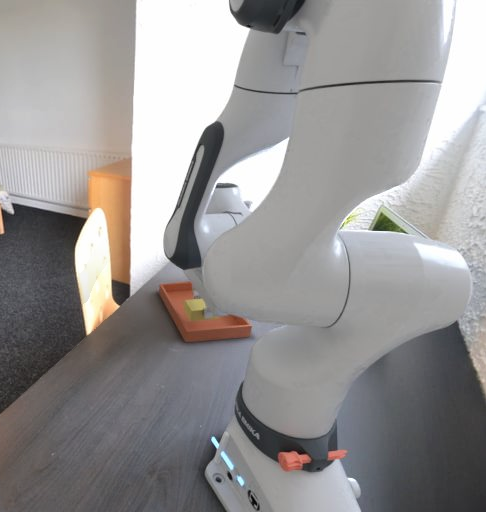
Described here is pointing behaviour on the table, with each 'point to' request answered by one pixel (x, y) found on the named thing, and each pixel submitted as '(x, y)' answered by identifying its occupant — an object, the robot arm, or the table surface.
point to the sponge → (196, 310)
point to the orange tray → (199, 330)
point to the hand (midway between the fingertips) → (201, 309)
